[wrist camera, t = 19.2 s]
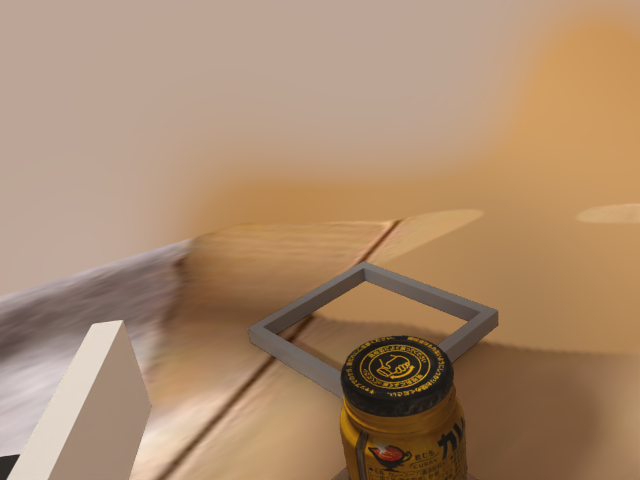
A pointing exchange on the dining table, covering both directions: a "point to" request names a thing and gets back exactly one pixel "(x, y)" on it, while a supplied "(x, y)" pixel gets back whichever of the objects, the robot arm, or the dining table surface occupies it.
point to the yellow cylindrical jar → (401, 413)
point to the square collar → (305, 363)
